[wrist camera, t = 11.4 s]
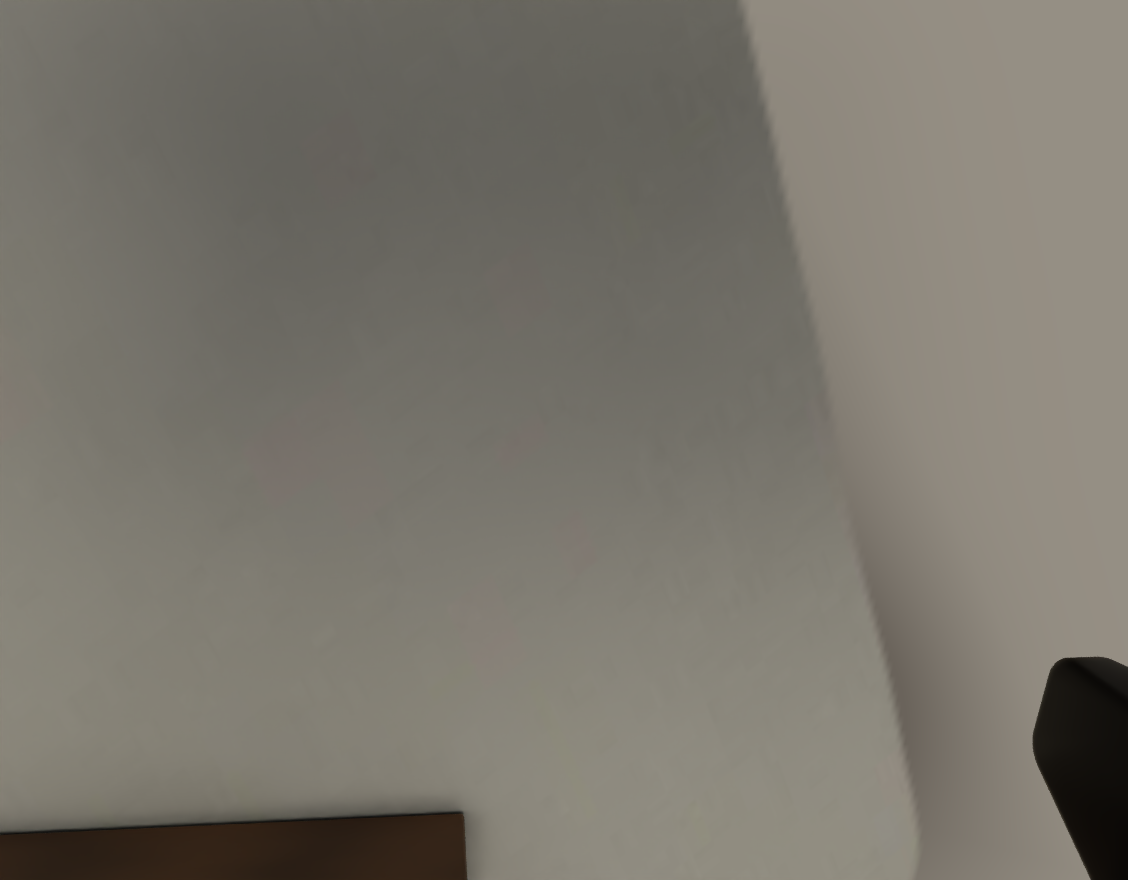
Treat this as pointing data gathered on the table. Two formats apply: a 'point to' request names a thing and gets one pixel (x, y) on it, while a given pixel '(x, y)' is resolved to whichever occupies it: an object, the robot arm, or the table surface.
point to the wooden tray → (247, 851)
